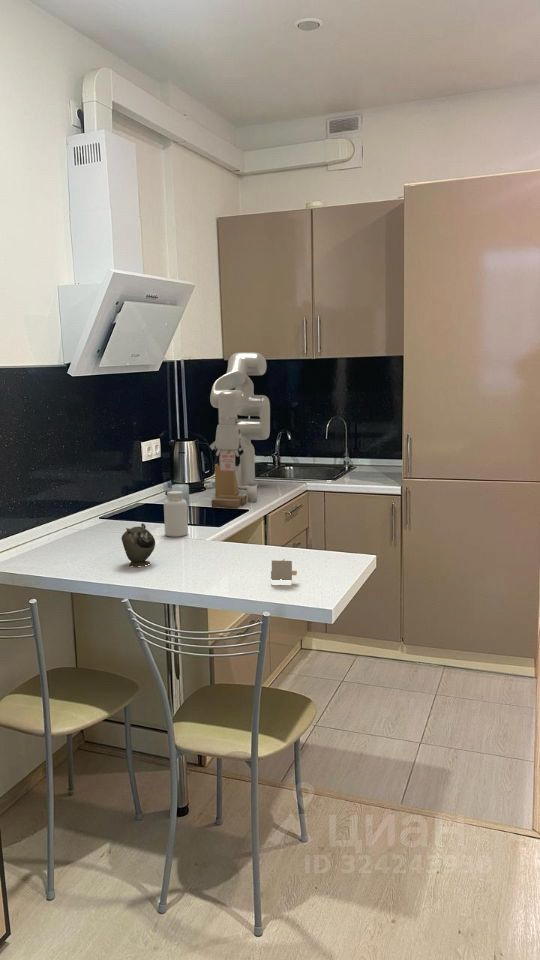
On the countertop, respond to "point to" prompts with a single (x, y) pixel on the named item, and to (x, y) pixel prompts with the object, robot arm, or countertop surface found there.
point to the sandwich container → (225, 482)
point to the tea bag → (227, 461)
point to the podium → (229, 501)
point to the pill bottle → (175, 514)
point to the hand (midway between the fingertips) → (228, 465)
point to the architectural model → (282, 570)
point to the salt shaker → (252, 491)
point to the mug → (183, 488)
